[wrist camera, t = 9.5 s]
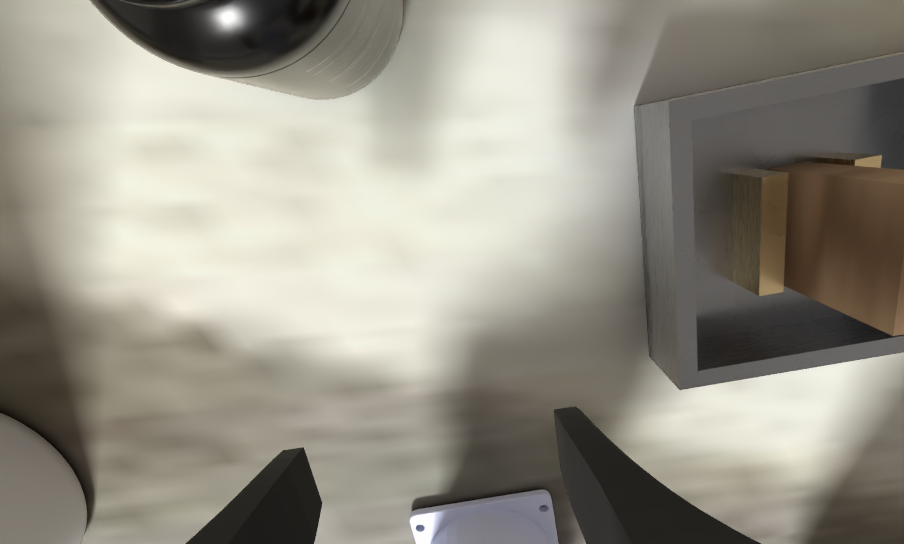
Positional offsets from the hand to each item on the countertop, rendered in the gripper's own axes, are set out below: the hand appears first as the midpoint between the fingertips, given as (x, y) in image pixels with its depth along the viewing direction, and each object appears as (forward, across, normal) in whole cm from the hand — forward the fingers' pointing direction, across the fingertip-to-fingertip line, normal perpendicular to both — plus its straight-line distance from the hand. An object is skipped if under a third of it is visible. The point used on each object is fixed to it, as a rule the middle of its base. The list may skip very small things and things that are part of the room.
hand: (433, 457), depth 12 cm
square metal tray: (+9, -16, -2) cm, 19 cm away
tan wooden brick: (+9, -16, -2) cm, 18 cm away
